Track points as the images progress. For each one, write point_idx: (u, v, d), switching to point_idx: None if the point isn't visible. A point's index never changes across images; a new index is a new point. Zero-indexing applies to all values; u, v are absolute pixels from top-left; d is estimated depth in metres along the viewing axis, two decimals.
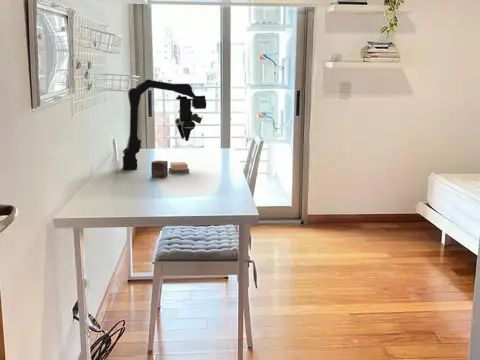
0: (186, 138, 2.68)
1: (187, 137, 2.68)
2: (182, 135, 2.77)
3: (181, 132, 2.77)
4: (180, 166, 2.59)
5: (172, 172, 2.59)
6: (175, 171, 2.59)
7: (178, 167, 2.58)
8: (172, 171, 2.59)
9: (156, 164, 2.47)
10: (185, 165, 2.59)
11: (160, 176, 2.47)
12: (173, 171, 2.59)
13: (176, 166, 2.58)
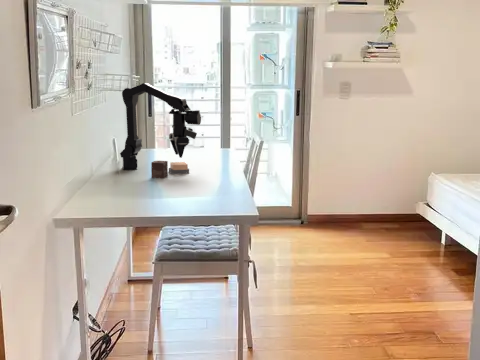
0: (180, 154, 2.56)
1: (181, 153, 2.56)
2: (176, 151, 2.65)
3: (175, 148, 2.64)
4: (180, 166, 2.59)
5: (172, 172, 2.59)
6: (175, 171, 2.59)
7: (178, 167, 2.58)
8: (172, 171, 2.59)
9: (156, 164, 2.47)
10: (185, 165, 2.59)
11: (160, 176, 2.47)
12: (173, 171, 2.59)
13: (176, 166, 2.58)
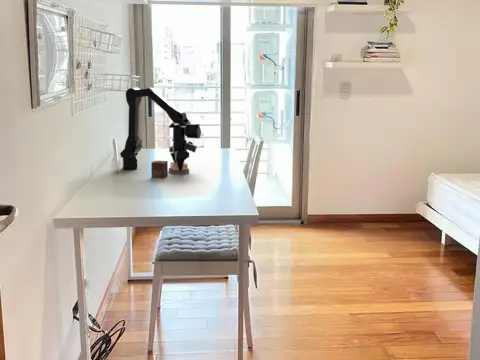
0: (179, 168, 2.58)
1: (180, 167, 2.58)
2: None
3: (175, 161, 2.65)
4: None
5: (172, 172, 2.59)
6: (175, 171, 2.59)
7: None
8: (172, 171, 2.59)
9: (156, 164, 2.47)
10: (185, 165, 2.59)
11: (160, 176, 2.47)
12: (173, 171, 2.59)
13: (176, 166, 2.58)
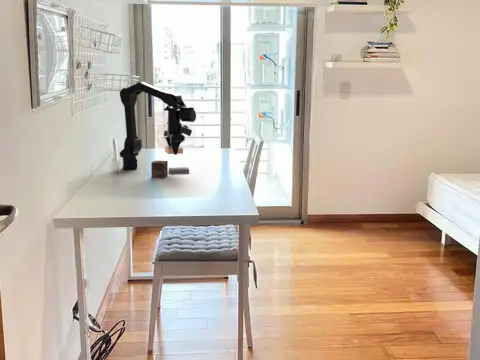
0: (175, 152, 2.53)
1: (176, 150, 2.53)
2: None
3: (170, 145, 2.60)
4: None
5: (172, 172, 2.59)
6: (175, 171, 2.59)
7: None
8: (172, 171, 2.59)
9: (156, 164, 2.47)
10: (180, 149, 2.55)
11: (160, 176, 2.47)
12: (173, 171, 2.59)
13: (171, 150, 2.53)
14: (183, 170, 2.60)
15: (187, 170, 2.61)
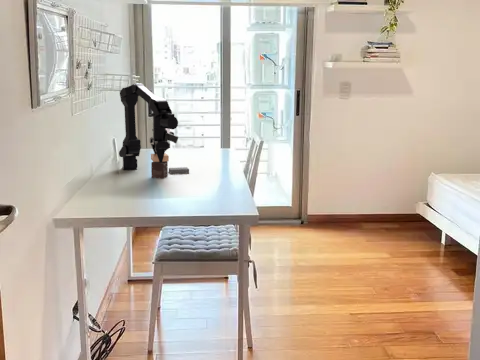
0: (160, 159, 2.45)
1: (161, 158, 2.45)
2: None
3: (156, 152, 2.52)
4: None
5: (172, 172, 2.59)
6: (175, 171, 2.59)
7: None
8: (172, 171, 2.59)
9: (156, 164, 2.47)
10: (166, 156, 2.46)
11: (160, 176, 2.47)
12: (173, 171, 2.59)
13: (156, 157, 2.45)
14: (183, 170, 2.60)
15: (187, 170, 2.61)
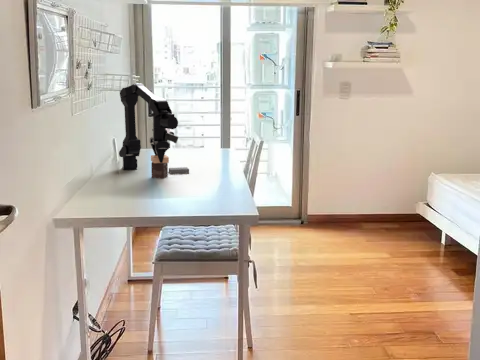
0: (160, 159, 2.44)
1: (161, 158, 2.44)
2: None
3: (156, 152, 2.52)
4: None
5: (172, 172, 2.59)
6: (175, 171, 2.59)
7: None
8: (172, 171, 2.59)
9: (156, 164, 2.47)
10: (166, 158, 2.46)
11: (160, 176, 2.47)
12: (173, 171, 2.59)
13: (156, 159, 2.45)
14: (183, 170, 2.60)
15: (187, 170, 2.61)
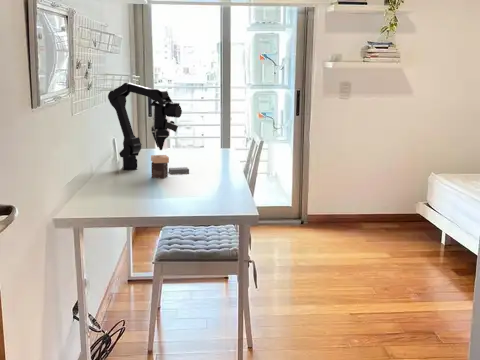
0: (160, 147, 2.54)
1: (161, 146, 2.54)
2: (158, 143, 2.63)
3: (156, 140, 2.63)
4: (161, 159, 2.46)
5: (172, 172, 2.59)
6: (175, 171, 2.59)
7: (159, 160, 2.45)
8: (172, 171, 2.59)
9: (156, 164, 2.47)
10: (166, 158, 2.46)
11: (160, 176, 2.47)
12: (173, 171, 2.59)
13: (156, 159, 2.45)
14: (183, 170, 2.60)
15: (187, 170, 2.61)
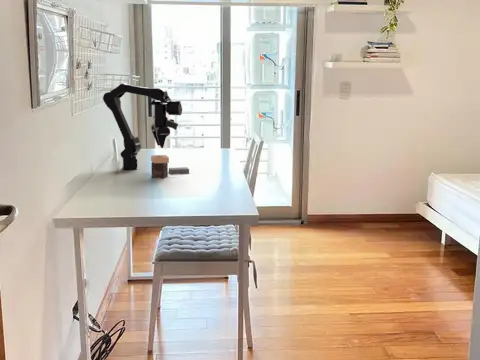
0: (161, 145, 2.58)
1: (162, 144, 2.58)
2: (158, 142, 2.67)
3: (157, 138, 2.67)
4: (161, 159, 2.46)
5: (172, 172, 2.59)
6: (175, 171, 2.59)
7: (159, 160, 2.45)
8: (172, 171, 2.59)
9: (156, 164, 2.47)
10: (166, 158, 2.46)
11: (160, 176, 2.47)
12: (173, 171, 2.59)
13: (156, 159, 2.45)
14: (183, 170, 2.60)
15: (187, 170, 2.61)
